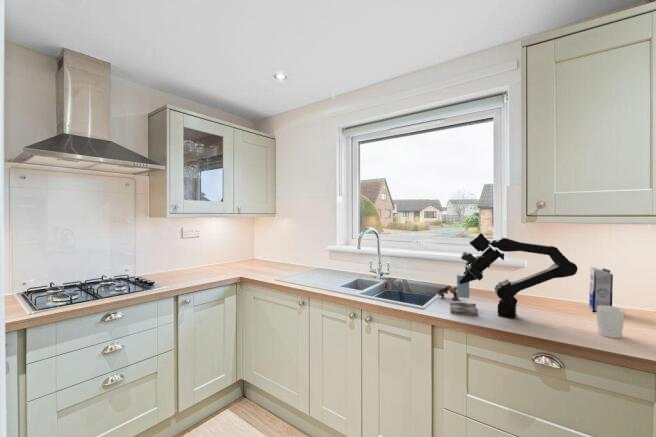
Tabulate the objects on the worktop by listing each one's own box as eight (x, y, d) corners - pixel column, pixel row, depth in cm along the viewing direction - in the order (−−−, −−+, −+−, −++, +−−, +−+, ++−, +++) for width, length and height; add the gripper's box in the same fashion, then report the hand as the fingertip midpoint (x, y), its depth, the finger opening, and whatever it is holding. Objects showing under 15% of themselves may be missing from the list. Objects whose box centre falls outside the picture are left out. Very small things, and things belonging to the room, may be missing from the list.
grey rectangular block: (468, 296, 149) (468, 274, 149) (469, 298, 146) (469, 276, 146) (456, 295, 151) (456, 274, 151) (457, 297, 148) (457, 275, 147)
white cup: (620, 340, 116) (621, 313, 116) (592, 333, 123) (593, 307, 122) (626, 335, 121) (627, 309, 120) (599, 329, 127) (600, 304, 127)
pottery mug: (450, 304, 161) (442, 289, 164) (440, 307, 169) (432, 293, 172) (467, 295, 166) (459, 280, 168) (456, 299, 174) (448, 285, 176)
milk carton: (589, 308, 153) (590, 266, 153) (607, 310, 150) (608, 267, 149) (592, 312, 147) (594, 268, 146) (611, 315, 144) (613, 270, 143)
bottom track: (475, 309, 151) (475, 303, 151) (477, 315, 143) (477, 308, 143) (450, 307, 155) (450, 301, 155) (450, 312, 147) (450, 306, 147)
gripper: (470, 243, 155) (445, 265, 159) (474, 248, 138) (446, 273, 142) (488, 260, 153) (463, 282, 157) (495, 268, 135) (466, 292, 139)
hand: (459, 282), depth 149 cm, fingers closed on grey rectangular block, 3 cm apart
